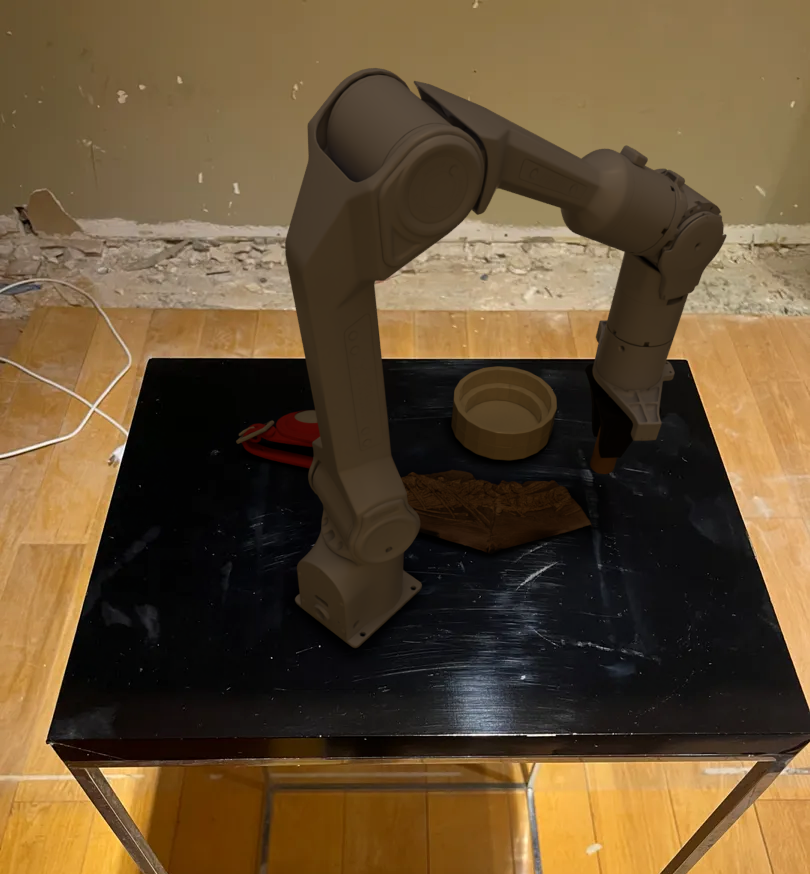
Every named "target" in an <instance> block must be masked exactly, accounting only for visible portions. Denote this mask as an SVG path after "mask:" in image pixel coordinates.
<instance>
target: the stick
mask: <svg viewBox="0 0 810 874" xmlns="http://www.w3.org/2000/svg"><path fill="white" fill-rule="evenodd" d="M608 397H610V396H608ZM599 436H600V428H599V432H598V436H597V437H596V440H595V444H594V447H593V450H592V454H591V458H590V462H589V466H590V468H591V470H592V471H593V472H595V473H597V474H600V475H608V474H611V473H612V472H613V471H614V469H615V467H616V463H617V460H618V458H601V457H600V454H599Z"/></svg>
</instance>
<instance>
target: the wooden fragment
mask: <svg viewBox="0 0 810 874" xmlns="http://www.w3.org/2000/svg"><path fill="white" fill-rule="evenodd" d="M401 480H402V482H403V485H404V487H405V490H406V492H407V500H408V504H409V505H410V506H411V507H412V508H413V509H414V510H415V511H416V513H417V514H418V515H419V518H420V529H419V532H418V533H423V534H426V535H430V536H433V537H436V538H439V539H442V540H445V541H449V542H452V543H456V544H460V545H463V546H466V547H470V548H472V549H476V550H478V551H479V550H480V551H483V552H484V553H487V554H489V555H490V554H491V555H492V554H495V553H497V552H499V551H501V550H504V549H508V548H511V547H515V546H520V545H523V544H527V543H531V542H534V541H538V540H541V539H546V538H549V537H550V538H551V537H553V536H557V535H560V534H566V533H569V532H572V531H575V530H578V529H581V528H583V527H587V526H590V527H591V528H592V530H594V527H593V524H592V522H591V520H590V519H589V518H588V516H587V515H586V513H585V512H584V510H583V508H582V507H581V505H579V503H577V501H576V500H575V499H574V498H573V497H572V496H571V494H570V493H569V489H567V488H566V487H565V486H563V485H559V484H558V483H557V482H556V481H555V480H554V479H551V480H550V481H546V480H542V481H541V480H528V481H524V482H523V483H520V482H517V481H506V480H504V479H503V480H501V481H500V483H498V484H496V483H491V482H489V481H488V480H483V479H476V478H475V476H474V475H473V474H472V473H471V472H468V471H464V470H463V471H462V470H455V469H451V470H447V471H440V472H433V473H431V474H429V473H426V474H418V473H416V472H414V471H411V472H410V473H408V474H407V475H405V476H402V477H401Z"/></svg>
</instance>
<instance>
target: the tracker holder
mask: <svg viewBox="0 0 810 874" xmlns="http://www.w3.org/2000/svg"><path fill="white" fill-rule="evenodd" d="M273 425H275V426H273ZM238 436H239V438H238V439H237V440H236V441H235V442H236V444H238V445H239V444H242V447H243V448H244V450H245V451H247V452H248V453H250V454H252V455H253V456H257V457H260V458H263V459H265V460H266V459H267V460H270V461H274V462H278V463H283V464H286V465H292V466H296V467H301V468H304V469H305V468H306V469H308V470H309V469H310V467H311V464H312V461H313V457H314V456H310V455H306V454H300V453H296V452H290V451H285V450H281V449H277V448H271V447H268V446H265V445H262V444H259V442H261V441H262V439H264V440H266V441H268V442H274V443H278V444H284V445H286V444H287V445H293V446H302V447H308V448H313V446H312V442H313V441H315V440H316V439H317V438H319V437H320V432H319V427H318V422H317V417H316V411H315V408H314V409H302V410H299V411H293V412H290V413H287V414H285V415H283V416H281V417H280V418H278V419H277V421H276V423H275V421H274V420H269V421H268V422H266V423H253V424H251V425H249V426H248V427H247V428H245V429H243V430H242V431H240V432H239V433H238Z"/></svg>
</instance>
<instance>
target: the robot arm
mask: <svg viewBox="0 0 810 874" xmlns="http://www.w3.org/2000/svg"><path fill="white" fill-rule="evenodd" d="M413 84H414V86H415V88H416V89H417V91H418V94H419V96H418V95H416V94H415V93H414V92H413V91H412V90H411V89H410V87H409V86H408V84H407V82H405V81H404V80H403V79H402V78H401V77H400V76H398V74H396V73H394V72H393V71H391V70H388V69H385V68H381V67H379V68H378V67H368V68H364V69H360V70H358V71H356V72H355V71H354V72H353V73H352V74H350V75H348V76H347V77H345V78H344V79H343V80H342V81H341V82H339V84H338V85H337V86H336V87H335V88H334V89H333V91H332V92H331V93H330V95H329V96H328V97H327V98H326V100H325V101H324V102H323V104H322V105H321V106H320V107H319V108H318V110H317V111H316V112H315V113H314V114H313V116H312V117H311V118H310V120H309V121H308V123H307V150H308V152H307V153H308V157H307V158H308V159H307V164H306V167H305V171H304V173H303V174H304V175H303V178H302V182H301V185H300V188H299V191H298V195H297V198H296V201H295V206H294V209H293V213H292V216H291V220H290V223H289V226H288V230H287V233H286V237H285V240H284V241H285V242H284V253H285V260H286V266H287V271H288V276H289V281H290V287H291V291H292V297H293V301H294V306H295V307H294V308H295V312H296V317H297V322H298V327H299V333H300V338H301V343H302V344H301V345H302V348H303V354H304V358H305V364H306V369H307V375H308V379H309V385H310V390H311V395H312V400H313V405H314V409H315V411H316V417H317V422H318V427H319V432H320V437H319V438H317V439H316V440H315V441H313V442H312V446H313V447H312V450H313V456H312V457H313V461H312V464H311V467H310V469H309V468H308V472H307V473H308V474H307V480H308V485H309V486H310V488H311V490H312V491H313V492H314V494H315V495H316V496H317V497H318V498H319V501H320V502H321V503H322V508H323V511H322V517H321V529H320V532H319V535H318V538H317V539H316V541H315V543H314V544H313V546H312V548H310V550H309V551H308V553H307V554H306V555H305V556H304V557H302V558H301V559H300V560H299V561H298V563H297V566H296V573H297V583H298V589H299V590H298V591H299V592H298V594H297V595H296V596H295V597H294V602H295V604H296V605H297V606H298V607H299V608H301V609H302V610H304V611H305V612H306V613H307V614H309V615H310V616H311V617H312V618H314V619H315V620H316V621H318V622H319V623H320V624H322V625H323V626H324V627H325V628H327V629H328V630H329V631H331V633H333V634H334V635H336V636H337V637H338V638H340V639H341V640H342V641H343V642H345V643H346V644H347V645H348V646H350V647H351V648H354V649H357V648H359V647H360V646H362V644H364V643H365V642H366V641H368V639H369V638H370V637H372V635H373V634H374V633H376V632H377V631H378V630H379V629H380V628H381V627H382V626H383V625H385V623H387V622H388V620H390V619H391V618H392V617H393V616H394V615H396V613H397V612H398V611H399V610H401V609H402V608H403V607H404V606H405V605H406V604H407V603H409V601H410V600H412V599H413V598H414V597H415V596H416V595H417V594H418V593H419V592H420V591H421V590H422V588H423V584H422V582H421V581H419V580H418V579H416V578H415V577H414V576H412V575H411V574H410V573H408V572H407V571H405V570H404V560H405V559H404V557H405V551H407V550H408V549H409V548H410V546H411V545H412V544H413V542H414V541H415V539H416V537H417V536H418V534H419V533H420V532H419V529H420V518H419V515H418V514H417V513H416V511H415V510H414V509H413V508H412V507H411V506H410V505H409V504H408V500H407V492H406V490H405V487H404V485H403V482H402V480H401V478H402V477H401V476H400V473H399V471H398V468H397V465H396V463H395V460H394V459H393V456H392V448H391V437H390V429H389V417H388V408H387V396H386V388H385V378H384V366H383V357H382V348H381V347H382V346H381V337H380V328H379V318H378V317H379V316H378V307H377V298H376V297H377V295H376V287H375V284H376V282H383V281H386V280H388V279H389V278H390V277H391V276H393V275H394V274H396V273H397V272H399V271H400V270H402V268H404V267H405V266H407V265H408V264H409V263H411V262H412V261H414V260H415V259H416V258H418V257H419V256H420V255H422V254H423V253H424V252H426V251H427V250H429V249H430V248H431V247H433V246H435V244H437V243H438V242H439V241H441V240H442V239H443V238H445V237H446V236H447V235H449V234H450V233H451V232H453V231H454V230H455V229H456V228H457V227H459V225H461V224H462V223H463V222H464V221H465V220H466V218H467V217H468V215H470V213H471V212H473V213H475V215H477V216H480V215H482V214H484V213H485V212H486V211H487V210H488V207H489V205H490V204H491V202H492V199H493V197H494V195H495V193H496V191H497V190H503V191H505V192H509V193H512V194H515V195H518V196H521V197H523V198H524V197H525V198H527V199H531V200H534V201H537V202H540V203H544V204H546V205H549V206H553V207H556V208H559V209H560V213H561V217H562V220H563V222H564V225H565V226H566V228H567V229H568V230H569V231H570V232H572V233H573V234H575V235H577V236H581V237H583V238H585V239H588V240H592V241H594V242H597V243H599V244H602V245H604V246H607V247H610V248H612V249H615V250H618V251H620V252H622V253H623V255H622V261H621V264H620V268H619V272H618V277H617V280H616V284H615V288H614V292H613V296H612V300H611V304H610V308H609V312H608V316H607V319H606V320H605V319H604V320H601V319H600V320H599V321H598V325H597V330H596V334H595V339H596V343H597V348H596V352H595V357H594V360H593V363H590V364H588V365H587V366H586V367H585V370H584V372H585V374H586V378H587V380H588V385H589V389H590V399H591V432H592V436H593V437H594V438H597V436H598V432H599V428H600V436H599V454H600V457H601V458H617V459H619V458H621V457H622V456H623V455H624V454H625V453H626V451H627V450H628V449H629V447H630V446H631V444H632V443H633V442H638V441H640V442H646V441H656V440H657V438H658V436H659V432H660V430H661V427H662V420H661V415H662V407H661V399H662V391H663V382H669V381H672V380H673V379H674V377H675V374H676V373H675V370H674V367H673V365H672V363H671V362H670V361H668V356H669V354H670V350H671V348H672V345H673V342H674V338H675V336H676V333H677V331H678V327H679V323H680V321H681V318H682V314H683V312H684V309H685V306H686V302H687V300H688V297H689V294H691V293H693V292H694V291H695V289H696V287H698V286H699V284H700V281H701V279H702V275H703V273H704V272H705V270H706V268H707V266H708V265H710V263H712V261H713V260H714V259H715V258H716V257H717V255H718V254H719V252H720V250H721V249H722V247H723V245H724V243H725V241H726V238H727V234H726V233H725V234H724V229H725V226H724V222H723V215H721V213H722V211H721V209H720V208H719V206H718V205H717V204H715V203H714V202H713V201H711V200H709V199H708V198H707V197H706V196H703V195H702V194H701V193H700V192H698V191H696V190H695V189H694V188H692V187H691V186H690V185H688V184H687V183H686V179H685V178H684V177H683V176H681V175H680V174H678V173H677V172H676V171H673V170H672V169H666V168H657V169H653V168H651V167H649V166H647V163H648V161H649V160H648V157H647V156H645V155H644V154H643V153H641V152H640V151H638V150H637V149H636V148H633V147H631V146H629V145H627V144H626V145H624V146H623V147H622V149H621V151H620V152H619V151H616V150H614V149H611V148H598V149H595V150H593V151H591V152H589V153H587V154H585V155H584V156H582V157H579V156H577V155H576V154H574V153H572V152H570V151H568V150H566V149H564V148H563V147H561V146H559V145H557V144H555V143H553V142H551V141H549V140H547V139H545V138H544V137H541V136H540V135H538V134H536V133H534V132H532V131H530V130H528V129H527V128H525V127H523V126H521V125H519V124H517V123H515V122H513V121H511V120H509V119H507V118H505V116H504V117H503V116H502V115H500V114H498V113H496V112H494V111H492V110H491V109H488V108H487V107H484V106H482V105H480V104H479V103H476V102H474V101H471V100H468V99H466V98H464V97H461V96H459V95H456V94H454V93H452V92H450V91H447V90H445V89H442V88H441V87H438V86H435V85H434V84H430V83H426V82H423V81H418V80H413ZM608 396H610V397H608ZM362 635H364V636H362Z"/></svg>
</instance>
